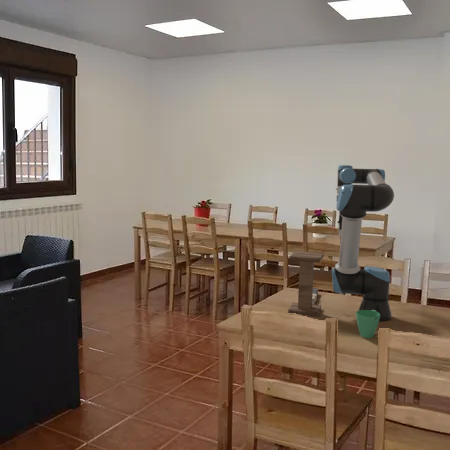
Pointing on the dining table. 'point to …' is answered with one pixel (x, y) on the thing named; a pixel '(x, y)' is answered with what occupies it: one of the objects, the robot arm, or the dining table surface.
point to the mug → (367, 322)
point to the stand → (306, 283)
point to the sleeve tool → (314, 295)
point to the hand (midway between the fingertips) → (342, 235)
